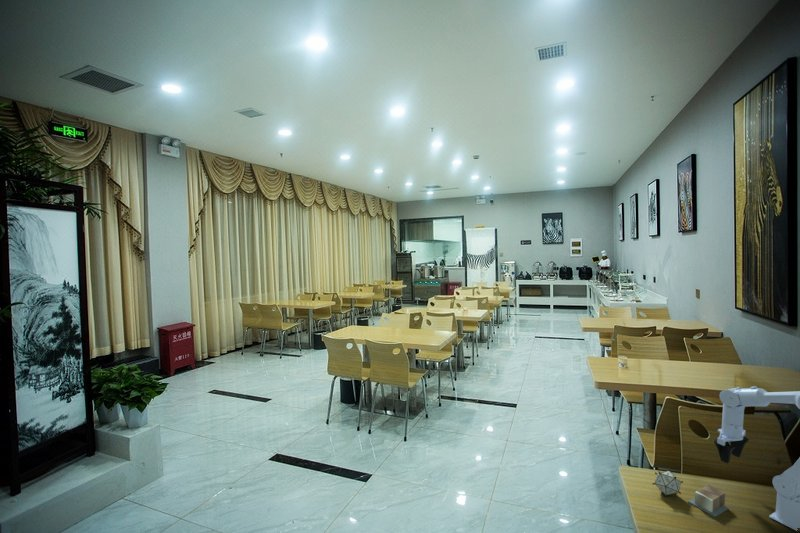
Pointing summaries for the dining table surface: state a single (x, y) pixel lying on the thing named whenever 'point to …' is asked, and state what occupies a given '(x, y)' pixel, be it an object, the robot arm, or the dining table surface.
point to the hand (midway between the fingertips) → (730, 458)
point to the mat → (714, 513)
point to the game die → (667, 483)
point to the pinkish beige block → (709, 498)
